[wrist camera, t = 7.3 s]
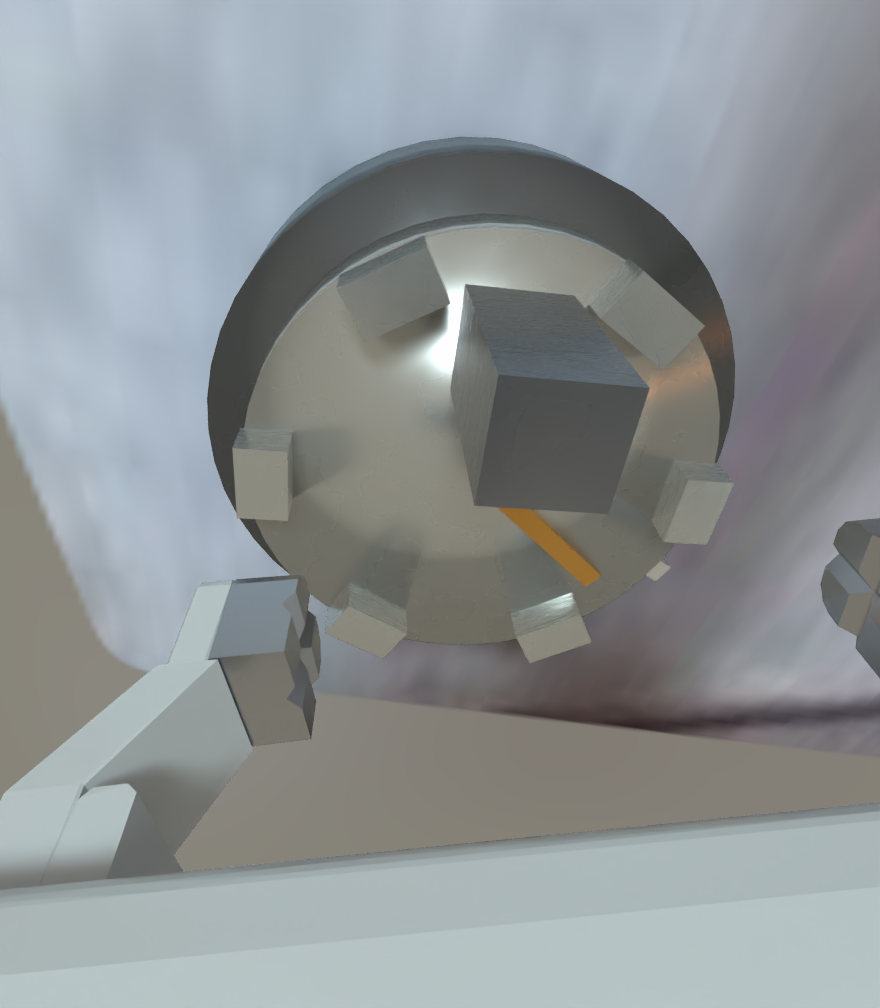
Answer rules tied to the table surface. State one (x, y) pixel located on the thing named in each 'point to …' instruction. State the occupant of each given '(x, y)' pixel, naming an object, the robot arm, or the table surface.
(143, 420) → the table surface
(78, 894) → the robot arm
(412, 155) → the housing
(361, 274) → the round clock
